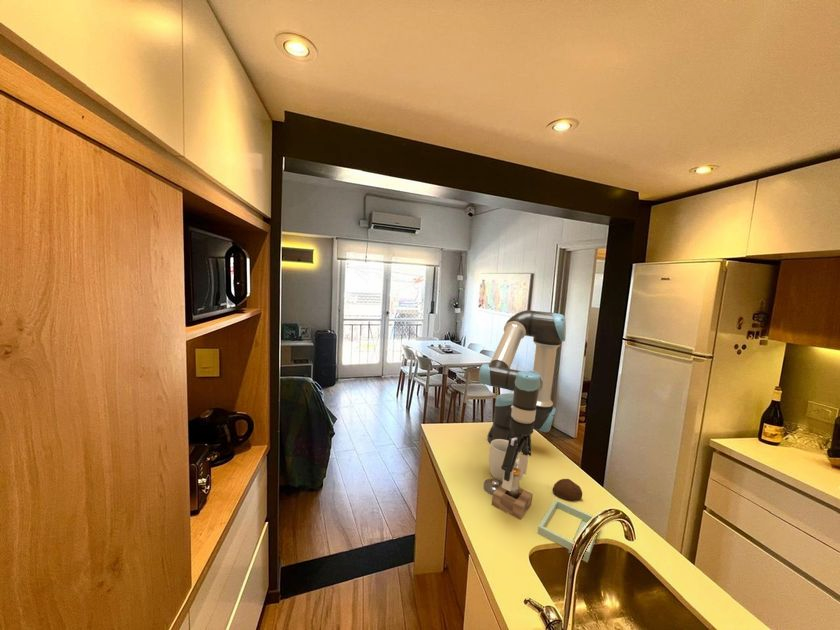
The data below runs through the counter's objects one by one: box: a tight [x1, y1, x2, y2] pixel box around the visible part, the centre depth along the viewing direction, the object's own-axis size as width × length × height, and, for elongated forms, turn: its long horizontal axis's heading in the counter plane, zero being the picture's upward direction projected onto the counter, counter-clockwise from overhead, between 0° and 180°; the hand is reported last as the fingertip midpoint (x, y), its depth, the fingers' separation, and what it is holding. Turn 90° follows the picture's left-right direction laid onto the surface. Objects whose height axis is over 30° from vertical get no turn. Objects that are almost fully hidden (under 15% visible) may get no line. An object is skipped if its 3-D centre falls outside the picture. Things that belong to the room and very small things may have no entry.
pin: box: [508, 467, 521, 499], centre depth 112 cm, size 3×3×12 cm
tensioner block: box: [491, 484, 533, 520], centre depth 113 cm, size 10×10×5 cm
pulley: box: [483, 478, 503, 496], centre depth 121 cm, size 8×8×4 cm
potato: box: [552, 478, 583, 501], centre depth 121 cm, size 7×10×7 cm
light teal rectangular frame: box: [537, 498, 598, 563], centre depth 104 cm, size 18×14×3 cm
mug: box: [488, 439, 524, 482], centre depth 128 cm, size 15×11×13 cm
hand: (514, 480), depth 112 cm, fingers open, 13 cm apart
